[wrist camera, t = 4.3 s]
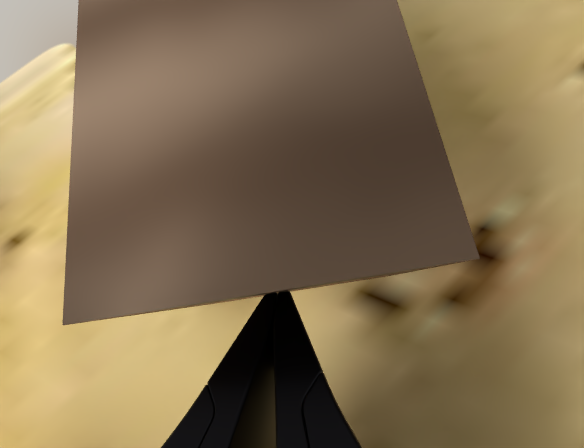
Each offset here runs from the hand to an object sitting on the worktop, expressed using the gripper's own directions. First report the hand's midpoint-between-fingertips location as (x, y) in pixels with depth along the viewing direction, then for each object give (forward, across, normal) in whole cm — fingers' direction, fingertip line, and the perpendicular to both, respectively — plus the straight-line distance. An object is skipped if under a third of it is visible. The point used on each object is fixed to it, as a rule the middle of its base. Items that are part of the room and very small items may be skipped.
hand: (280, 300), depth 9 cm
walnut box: (+11, 0, -1) cm, 11 cm away
